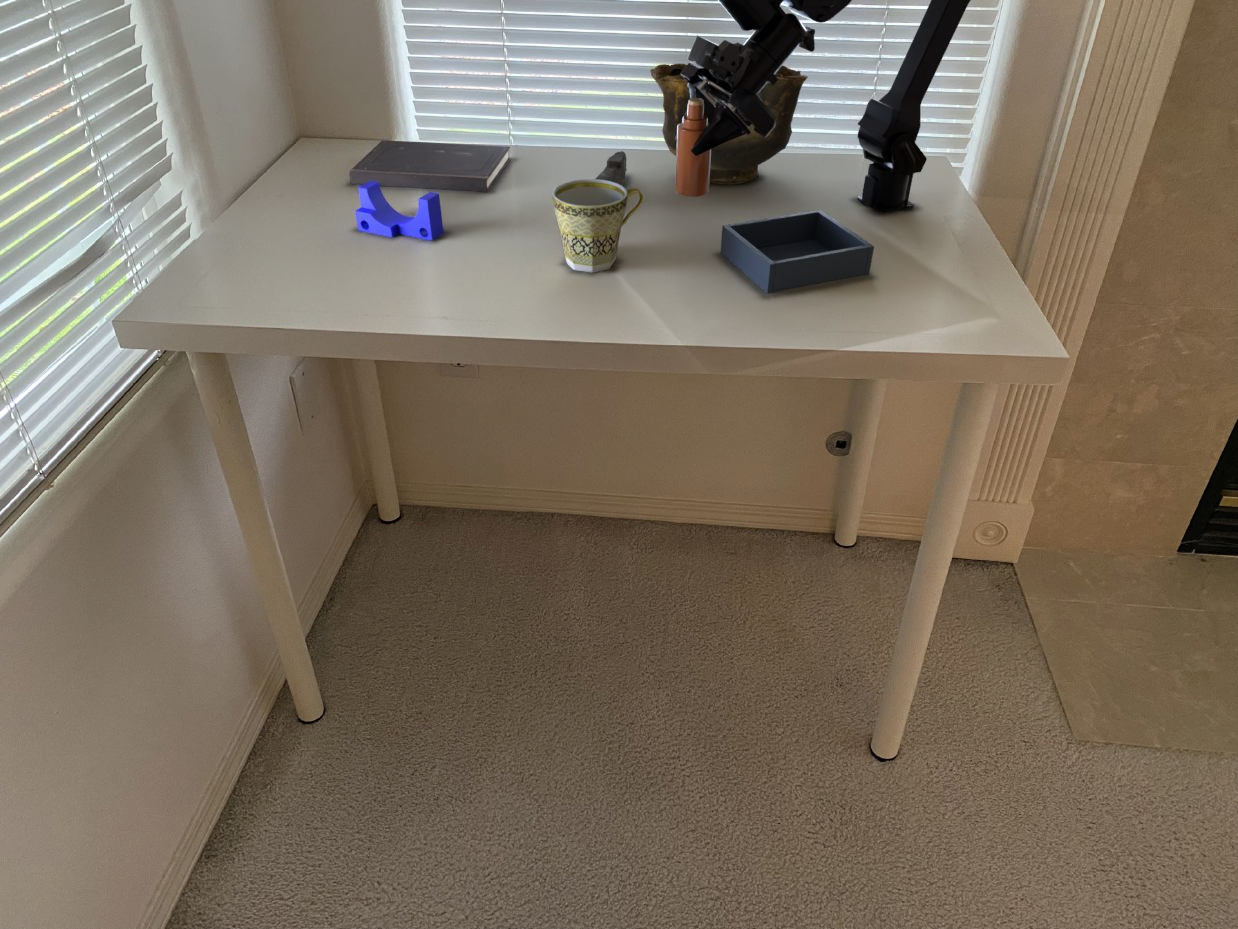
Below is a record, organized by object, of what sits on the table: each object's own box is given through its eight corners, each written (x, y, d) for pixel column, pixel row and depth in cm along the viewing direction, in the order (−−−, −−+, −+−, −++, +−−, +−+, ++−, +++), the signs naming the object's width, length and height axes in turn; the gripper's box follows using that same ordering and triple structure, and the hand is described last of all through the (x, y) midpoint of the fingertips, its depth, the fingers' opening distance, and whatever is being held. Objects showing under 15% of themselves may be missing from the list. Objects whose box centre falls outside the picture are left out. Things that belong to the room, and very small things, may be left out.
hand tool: (599, 218, 142) (599, 189, 140) (574, 215, 143) (574, 185, 141) (639, 177, 157) (640, 150, 154) (617, 174, 158) (617, 147, 155)
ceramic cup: (573, 283, 124) (571, 211, 118) (543, 255, 132) (540, 186, 126) (658, 264, 129) (661, 194, 123) (625, 238, 136) (625, 170, 130)
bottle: (710, 185, 135) (715, 95, 127) (707, 197, 131) (712, 106, 123) (677, 183, 135) (680, 94, 128) (673, 196, 131) (676, 104, 124)
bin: (816, 239, 136) (820, 209, 134) (868, 277, 126) (874, 246, 124) (720, 255, 132) (722, 225, 129) (766, 296, 122) (770, 264, 119)
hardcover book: (383, 153, 166) (381, 140, 164) (510, 159, 163) (509, 146, 162) (350, 185, 153) (348, 171, 152) (487, 193, 151) (486, 179, 149)
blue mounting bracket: (358, 230, 139) (351, 190, 135) (377, 219, 142) (370, 180, 138) (426, 244, 135) (421, 204, 131) (443, 233, 138) (439, 193, 134)
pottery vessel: (653, 189, 152) (656, 60, 140) (644, 166, 161) (647, 42, 149) (803, 183, 154) (819, 56, 142) (787, 161, 163) (800, 39, 151)
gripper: (696, -2, 127) (621, 91, 131) (762, 27, 113) (677, 130, 117) (743, 54, 134) (671, 141, 138) (811, 88, 120) (729, 183, 124)
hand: (685, 147), depth 129 cm, fingers closed on bottle, 5 cm apart
